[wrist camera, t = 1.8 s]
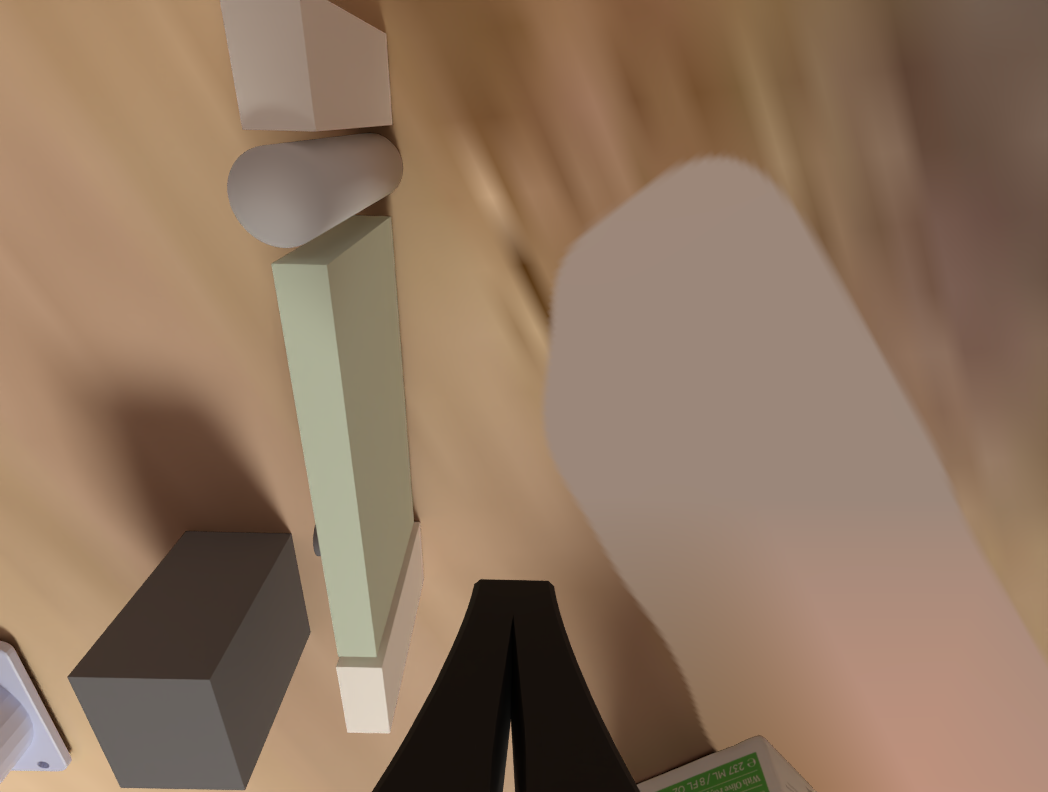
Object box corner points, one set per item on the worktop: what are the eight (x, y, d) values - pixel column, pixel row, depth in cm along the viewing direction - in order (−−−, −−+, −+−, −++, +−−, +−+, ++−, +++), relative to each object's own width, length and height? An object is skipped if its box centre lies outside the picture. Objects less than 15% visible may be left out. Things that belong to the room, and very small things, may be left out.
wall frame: (386, 578, 22) (335, 750, 16) (328, 31, 14) (184, -27, 8) (429, 579, 22) (393, 751, 16) (394, 34, 14) (298, -24, 8)
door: (356, 520, 20) (299, 655, 15) (316, 214, 15) (215, 262, 10) (414, 521, 20) (376, 657, 15) (391, 216, 15) (326, 264, 10)
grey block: (215, 629, 23) (120, 787, 18) (186, 530, 21) (67, 677, 15) (310, 631, 23) (244, 790, 18) (291, 533, 21) (209, 679, 15)
